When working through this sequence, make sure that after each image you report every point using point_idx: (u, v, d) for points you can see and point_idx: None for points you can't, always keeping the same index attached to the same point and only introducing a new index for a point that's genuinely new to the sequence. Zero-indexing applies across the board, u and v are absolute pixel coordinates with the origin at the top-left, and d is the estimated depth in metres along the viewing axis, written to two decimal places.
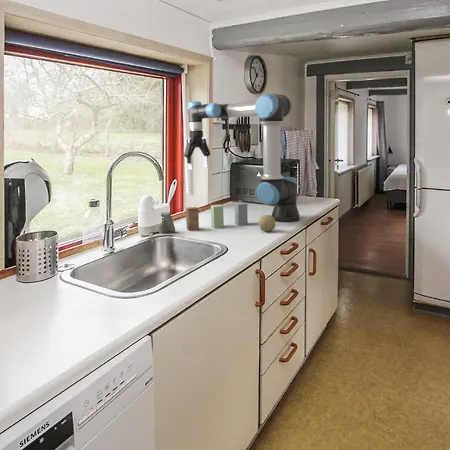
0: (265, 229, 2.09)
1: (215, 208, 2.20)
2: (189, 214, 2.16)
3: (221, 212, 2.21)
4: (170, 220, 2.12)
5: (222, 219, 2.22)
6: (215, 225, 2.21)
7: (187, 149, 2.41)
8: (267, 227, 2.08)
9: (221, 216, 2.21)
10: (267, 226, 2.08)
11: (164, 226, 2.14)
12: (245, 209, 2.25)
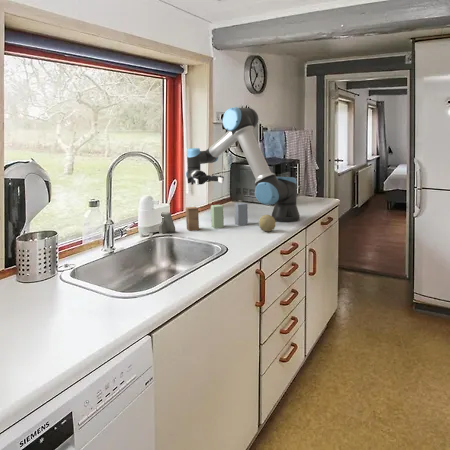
0: (265, 229, 2.09)
1: (214, 208, 2.20)
2: (189, 214, 2.16)
3: (221, 212, 2.21)
4: (170, 220, 2.12)
5: (222, 219, 2.22)
6: (215, 225, 2.21)
7: None
8: (267, 227, 2.08)
9: (221, 216, 2.21)
10: (267, 226, 2.08)
11: (164, 226, 2.14)
12: (245, 209, 2.25)
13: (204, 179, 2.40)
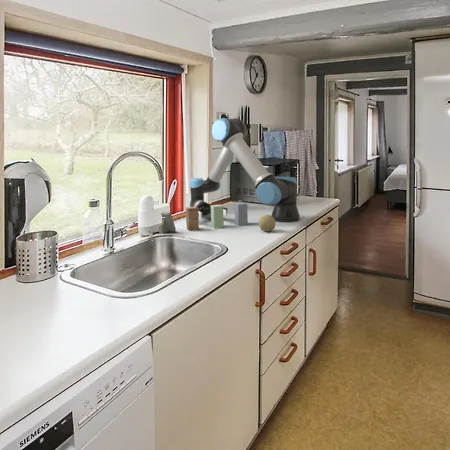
0: (265, 229, 2.09)
1: (214, 208, 2.20)
2: (189, 214, 2.16)
3: (221, 212, 2.21)
4: (170, 220, 2.12)
5: (222, 219, 2.22)
6: (215, 225, 2.21)
7: None
8: (267, 227, 2.08)
9: (221, 216, 2.21)
10: (267, 226, 2.08)
11: (165, 226, 2.14)
12: (245, 209, 2.25)
13: (207, 211, 2.38)
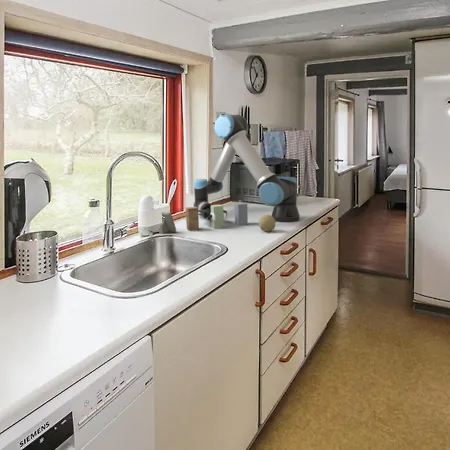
0: (265, 229, 2.09)
1: (214, 208, 2.20)
2: (189, 214, 2.16)
3: (221, 212, 2.21)
4: (171, 220, 2.12)
5: (222, 219, 2.22)
6: (215, 225, 2.21)
7: (202, 213, 2.27)
8: (267, 227, 2.08)
9: (221, 216, 2.21)
10: (267, 226, 2.08)
11: (165, 226, 2.14)
12: (245, 209, 2.25)
13: None
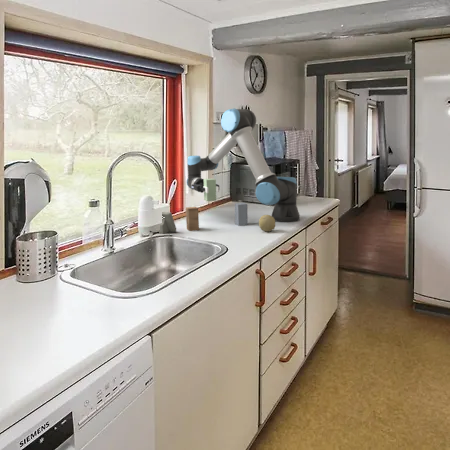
0: (265, 229, 2.09)
1: (207, 181, 2.26)
2: (189, 214, 2.16)
3: (214, 185, 2.28)
4: (171, 220, 2.12)
5: (215, 192, 2.29)
6: (208, 198, 2.28)
7: (195, 187, 2.33)
8: (267, 227, 2.08)
9: (214, 189, 2.28)
10: (267, 226, 2.08)
11: (165, 226, 2.14)
12: (245, 209, 2.25)
13: None
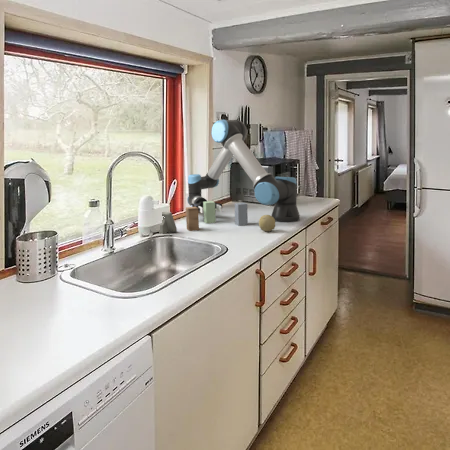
0: (265, 229, 2.09)
1: (207, 204, 2.32)
2: (189, 214, 2.16)
3: (213, 208, 2.33)
4: (171, 220, 2.12)
5: (214, 215, 2.34)
6: (207, 220, 2.33)
7: None
8: (267, 227, 2.08)
9: (213, 212, 2.34)
10: (267, 226, 2.08)
11: (165, 226, 2.14)
12: (245, 209, 2.25)
13: None
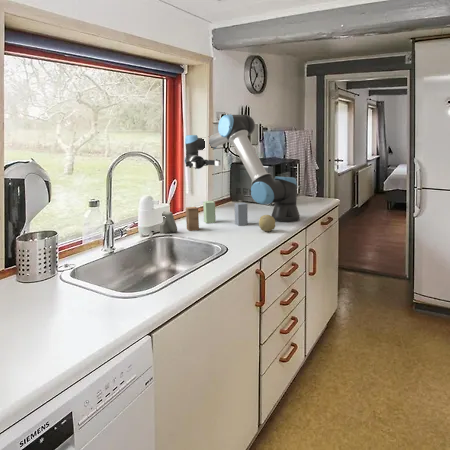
0: (265, 229, 2.09)
1: (207, 204, 2.32)
2: (189, 214, 2.16)
3: (213, 208, 2.33)
4: (172, 220, 2.12)
5: (214, 215, 2.34)
6: (207, 220, 2.33)
7: None
8: (267, 227, 2.08)
9: (213, 212, 2.34)
10: (267, 226, 2.08)
11: (166, 226, 2.14)
12: (245, 209, 2.25)
13: (201, 163, 2.53)
